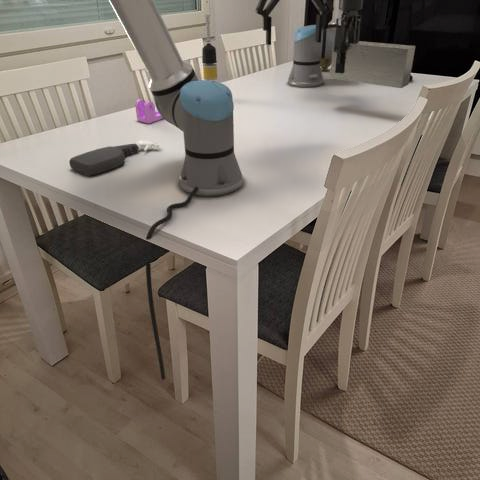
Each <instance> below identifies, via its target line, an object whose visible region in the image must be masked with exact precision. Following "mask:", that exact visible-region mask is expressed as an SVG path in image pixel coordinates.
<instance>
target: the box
mask: <svg viewBox="0 0 480 480" xmlns="http://www.w3.org/2000/svg"><path fill="white" fill-rule="evenodd" d="M415 51H416V45H409V44H408V45H407V44H397V43H387V42H386V43H385V42H375V41H374V42H373V41H372V42H371V41H361V40H359V41H350V40H347V41H346V45H345V49H344V53H345V60H344V70H343V74H341V73H335V68H336V57H337V53H335V52H334V42H333V51H332V62H331V65H330V74H329V75H330V77H329V78H330V80H331V79H332V80H341V81H347V82H353V83H360V84H366V85H367V84H368V85H374V86H375V85H376V86H380V87H381V86H382V87H388V88H389V87H390V88H398V89H403V88H404V87H407V86H409V84H410V81H411V80H410V74H411V72H412V69H413V68H412V63H414V58H415V57H414V56H415V53H416V52H415ZM411 68H412V69H411ZM411 75H412V74H411Z"/></svg>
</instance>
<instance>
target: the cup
mask: <svg viewBox="0 0 480 480" xmlns="http://www.w3.org/2000/svg"><path fill="white" fill-rule="evenodd" d="M331 62H332V59H320V68H321V72H327V71H328V70H329V67H331Z"/></svg>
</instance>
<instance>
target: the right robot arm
mask: <svg viewBox="0 0 480 480" xmlns="http://www.w3.org/2000/svg"><path fill="white" fill-rule="evenodd" d="M332 4H333V7H334V10H333V11H332V16H331V17H332V18H331V20H330V21H329V22H328V24H327V28H322V34H321V42H320V43H318V42H316V41H315V32H316V24H310V25H305V26H301V27H298V28H296V29H295V32H294V36H293V37H294V38H293V57H292V67H291V70H290V74H289V76H288V79H287V81H288V82H287V84H288V85H290V86H292V87H297V88H314V87H320V86H322V85H323V84H324V77H323V73H322V71H321V67H320V59H332V51H333V42H334V52H335V53H337V57H336V68H335V73H341V74H343V70H344V60H345V53H344V49H345V45H346V41H347V40H350V41H360V32H361V21H362V17H363V16H362V14H359V11H361V10H362V9H363V4H364V0H333V3H332Z"/></svg>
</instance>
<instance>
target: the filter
mask: <svg viewBox="0 0 480 480" xmlns="http://www.w3.org/2000/svg"><path fill="white" fill-rule="evenodd" d="M210 17H211V14H204V18H205V27H206V29H205V30H206V31H205V33H206V39H207V40H206V42H207V43H206V45H204V46H202V49H201V50H202V51H201V52H202V54H201V55H202V57H201V58H202V61H201V63H202V71H203V72H202V73H203V74H202V75H203V80H208V81H212V82H216V80H218V64H216V63H218V61H217V48H216V47H215V46H214V45H212V43H210V42H211V40H210V39H211V31H210V29H211V28H210Z"/></svg>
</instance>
